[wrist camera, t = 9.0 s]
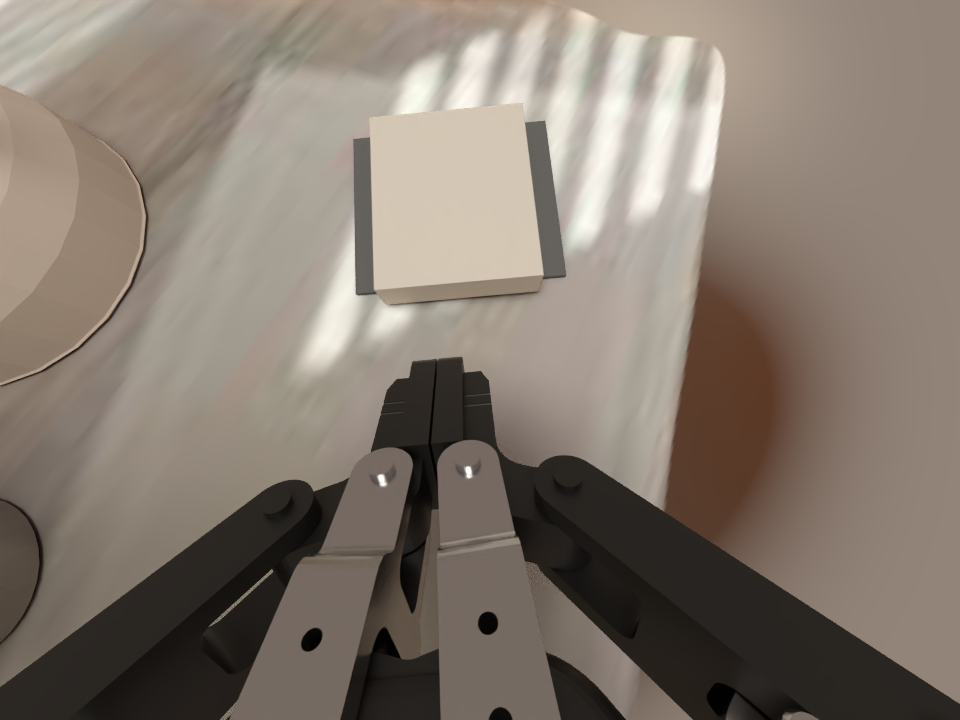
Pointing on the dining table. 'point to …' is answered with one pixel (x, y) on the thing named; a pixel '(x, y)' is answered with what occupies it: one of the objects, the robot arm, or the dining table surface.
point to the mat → (542, 197)
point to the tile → (453, 205)
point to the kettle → (59, 234)
